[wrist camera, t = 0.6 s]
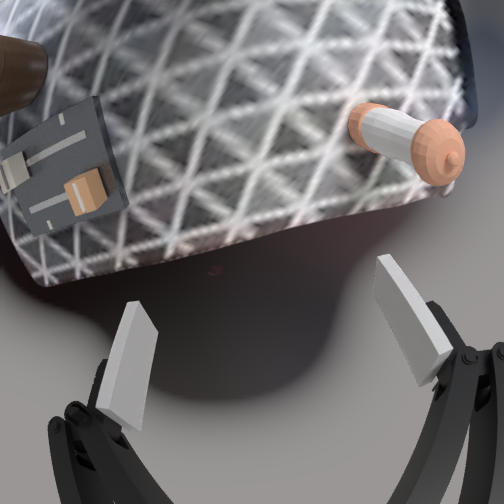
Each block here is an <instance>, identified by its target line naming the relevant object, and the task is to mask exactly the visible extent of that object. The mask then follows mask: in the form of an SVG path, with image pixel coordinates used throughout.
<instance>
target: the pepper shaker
mask: <svg viewBox="0 0 504 504" xmlns="http://www.w3.org/2000/svg"><path fill="white" fill-rule="evenodd" d="M348 129H349V133H350V135H351V137H352V139H353V140H354V141H355V142H356V143H357V144H358V145H359V146H361V147H363V148H365V149H367V150H369V151H371V152H373V153H379V154H382V155H383V156H385V157H388V158H392V159H396V160H400V161H404V162H406V163H407V164H409V165H411V166H413V167H414V169H415V171H416V172H417V173H418V175H419V176H420V178H421V179H422V180H423V181H425V182H426V183H428V184H431V185H437V186H442V185H446V184H449V183H451V182H452V181H453V180H455V179H456V178H457V177H458V175H459V174H460V172H461V170H462V168H463V165H464V160H465V147H464V143H463V140H462V138H461V136H460V134H459V133H458V131H457V130H456V129H455V128H454V127H453V126H452V125H451V124H450V123H448V122H447V121H444V120H441V119H435V120H429V121H427V122H422V121H419V120H416V119H414V118H412V117H410V116H408V115H406V114H404V113H402V112H400V111H398V110H394V109H390V108H388V107H387V106H384V105H379V104H374V103H363V104H360V105H358V106H357V107H355V109H354V110H353V111H352V112H351V114H350V117H349V120H348Z"/></svg>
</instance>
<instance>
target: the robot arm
mask: <svg viewBox="0 0 504 504" xmlns="http://www.w3.org/2000/svg"><path fill="white" fill-rule="evenodd" d="M372 294H373V296H374V298H375V300H376V301H377V303H378V305H379V307H380V309H381V310H382V312H383V314H384V316H385V318H386V320H387V322H388V324H389V326H390V328H391V329H392V331H393V333H394V335H395V337H396V339H397V341H398V343H399V345H400V347H401V349H402V351H403V354H404V356H405V358H406V360H407V362H408V364H409V366H410V368H411V370H412V373H413V375H414V377H415V379H416V381H417V384H418V386H419V387H420V386H423V385H425V384H427V383H430V382H432V381H433V379H434V378H435V376H437V378H438V380H439V381H438V382H437V383H436V385H435V386H434V387H433V389H432V391H434V390H435V393H434V396H433V400H432V403H431V406H430V409H429V412H428V415H427V418H426V421H425V424H424V427H423V430H422V432H421V435H420V437H419V440H418V442H417V445H416V447H415V450H414V452H413V454H412V456H411V459H410V461H409V463H408V465H407V467H406V469H405V471H404V473H403V476H402V477H401V480H400V481H399V483H398V485H397V487H396V489H395V491H394V492H393V494H392V496H391V498H390V499H389V501H388V503H387V504H440V502H441V500H442V498H443V496H444V493H445V491H446V489H447V487H448V485H449V482H450V480H451V477H452V475H453V472H454V470H455V467H456V464H457V462H458V459H459V456H460V453H461V450H462V447H463V443H464V440H465V437H466V434H467V430H468V426H469V422H470V428H469V443H468V452H467V460H466V467H465V473H464V479H463V485H462V490H461V494H460V498H459V503H458V504H504V342H498V343H496V344H495V345H494V346H493V348H492V349H491V350H483V351H476V349H475V348H473V347H471V346H466V345H465V343H464V342H463V340H462V339H461V337H460V335H459V334H458V332H457V331H456V329H455V328H454V326H453V324H452V323H451V322H450V320H449V318H448V317H447V316H446V314H445V312H444V311H443V310H442V308H441V307H440V306H439V305H438V304H436V303H435V302H434V301H430V302H427V303H425V302H424V301H423V299H422V298H421V297H420V295H419V294H418V292H417V291H416V289H415V288H414V286H413V285H412V284H411V282H410V281H409V280H408V278H407V277H406V275H405V274H404V273H403V271H402V270H401V269H400V267H399V266H398V265H397V264H396V262H395V261H394V259H393V258H392V257H391V255H390V254H387V255H382V256H378V257H377V263H376V272H375V280H374V287H373V293H372ZM157 336H158V331H157V330H156V328H155V327H154V325H153V323H152V322H151V320H150V319H149V317H148V315H147V314H146V312H145V310H144V309H143V307H142V305H141V304H140V302H139V301H134V302H128V303H127V306H126V308H125V311H124V314H123V317H122V319H121V322H120V325H119V328H118V331H117V334H116V337H115V340H114V343H113V346H112V349H111V352H110V356H109V359H103V360H102V362H101V363H100V365H99V366H98V369H97V372H96V375H95V376H96V377H95V379H94V384H93V385H92V389H91V393H90V396H89V400H88V404H87V407H86V406H85V405H84V404H82V403H81V402H79V401H73V402H71V403H70V404H69V405H68V406H67V407H66V409H65V413H64V416H65V420H64V419H62V418H61V417H58V416H55V417H53V418H52V419H51V420H50V422H49V424H48V438H49V446H50V453H51V459H52V465H53V471H54V476H55V480H56V485H57V489H58V493H59V497H60V501H61V504H114V502H115V504H174V503H173V502H172V501H171V500H170V499H169V497H167V495H166V494H165V493H164V491H163V490H162V489H161V488H160V486H159V485H158V484H157V482H156V481H155V480H154V479H153V477H152V476H151V474H150V473H149V472H148V470H147V469H146V468H145V466H144V465H143V463H142V462H141V460H140V459H139V457H138V456H137V454H136V453H135V451H134V450H133V448H132V447H131V445H130V443H129V442H128V440H127V438H126V437H125V435H124V434H123V433H122V432H121V429H122V427H123V428H125V429H126V430H128V431H135V432H141V428H142V420H143V413H144V406H145V400H146V394H147V388H148V382H149V376H150V371H151V366H152V361H153V355H154V350H155V345H156V340H157ZM113 501H114V502H113Z"/></svg>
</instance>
